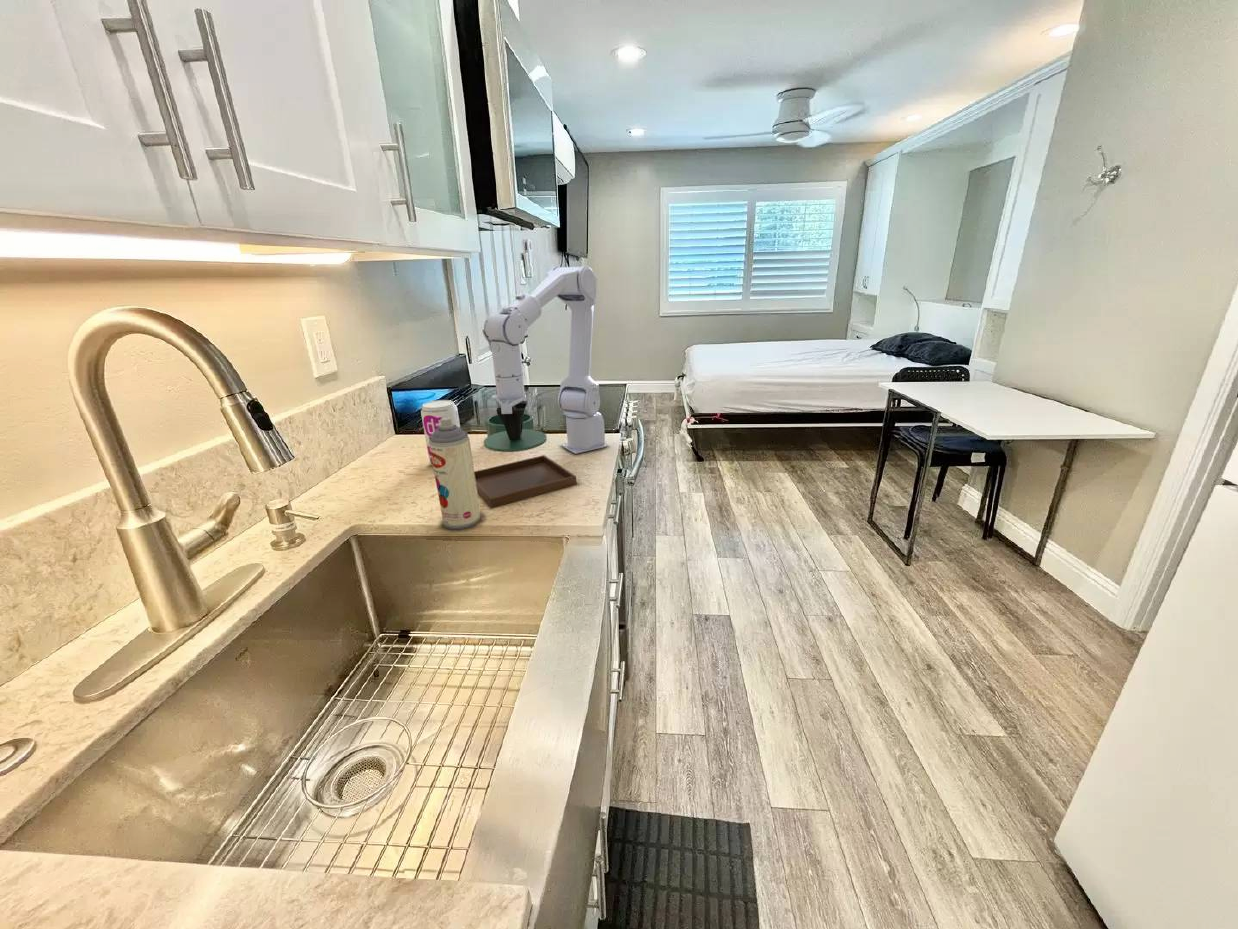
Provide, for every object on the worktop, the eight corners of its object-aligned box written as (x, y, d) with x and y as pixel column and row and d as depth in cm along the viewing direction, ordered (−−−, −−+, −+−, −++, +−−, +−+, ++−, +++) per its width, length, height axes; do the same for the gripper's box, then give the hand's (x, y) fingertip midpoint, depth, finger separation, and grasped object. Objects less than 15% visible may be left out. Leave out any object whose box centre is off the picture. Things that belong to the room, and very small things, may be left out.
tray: (544, 462, 119) (544, 454, 119) (576, 484, 107) (576, 476, 106) (466, 481, 110) (465, 473, 109) (491, 507, 97) (490, 499, 96)
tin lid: (532, 430, 115) (530, 412, 113) (557, 445, 105) (555, 426, 103) (475, 441, 108) (473, 422, 107) (497, 459, 98) (494, 438, 96)
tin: (524, 431, 143) (521, 409, 140) (542, 442, 133) (540, 419, 131) (482, 439, 136) (479, 417, 134) (498, 452, 127) (495, 428, 124)
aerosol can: (438, 519, 93) (419, 418, 86) (472, 508, 97) (457, 411, 89) (450, 533, 88) (432, 427, 81) (486, 521, 92) (472, 419, 84)
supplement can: (455, 470, 116) (445, 408, 110) (423, 468, 118) (412, 407, 112) (471, 457, 123) (462, 399, 118) (441, 456, 125) (431, 399, 119)
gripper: (495, 368, 107) (502, 427, 113) (482, 383, 94) (490, 449, 99) (528, 367, 108) (533, 426, 113) (519, 381, 94) (525, 448, 99)
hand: (515, 437), depth 106 cm, fingers closed on tin lid, 2 cm apart
